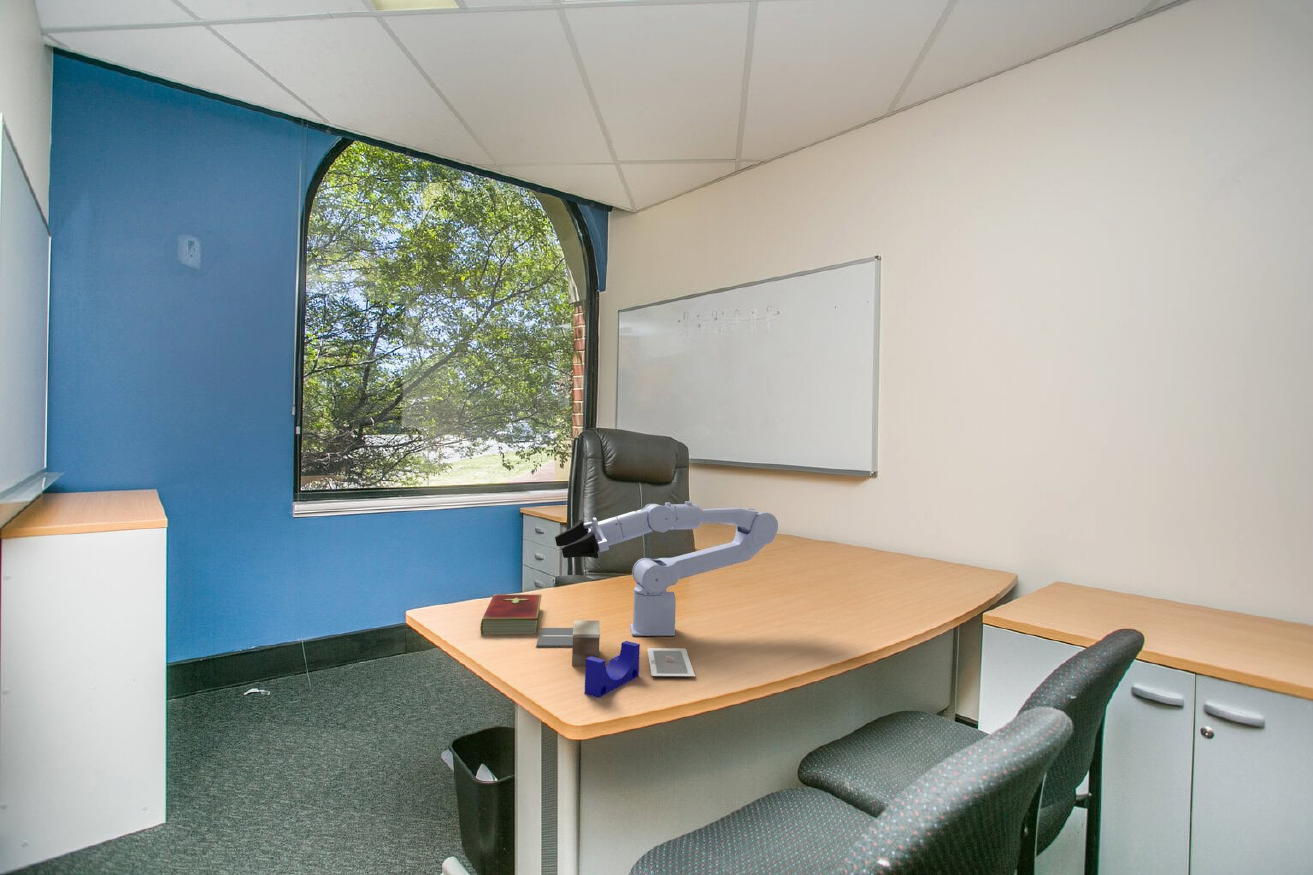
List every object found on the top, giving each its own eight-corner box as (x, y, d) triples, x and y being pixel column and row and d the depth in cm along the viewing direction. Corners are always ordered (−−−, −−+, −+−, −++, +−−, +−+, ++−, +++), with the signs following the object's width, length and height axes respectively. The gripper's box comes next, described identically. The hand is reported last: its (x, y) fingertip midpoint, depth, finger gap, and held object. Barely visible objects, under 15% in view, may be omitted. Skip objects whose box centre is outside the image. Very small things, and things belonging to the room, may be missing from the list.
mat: (595, 629, 140) (595, 627, 140) (595, 647, 128) (595, 644, 128) (540, 629, 139) (540, 627, 139) (536, 647, 127) (536, 644, 127)
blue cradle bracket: (618, 671, 116) (619, 639, 116) (638, 676, 114) (639, 643, 114) (577, 692, 106) (578, 656, 106) (598, 698, 103) (600, 662, 103)
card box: (598, 650, 127) (599, 620, 127) (598, 666, 118) (599, 634, 118) (572, 650, 126) (574, 620, 127) (571, 666, 117) (572, 634, 117)
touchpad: (685, 653, 128) (685, 643, 128) (695, 682, 113) (695, 669, 113) (647, 653, 127) (647, 642, 127) (651, 681, 112) (652, 669, 112)
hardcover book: (480, 636, 134) (480, 617, 134) (491, 610, 155) (492, 593, 155) (536, 636, 136) (537, 616, 136) (541, 610, 157) (541, 593, 157)
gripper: (606, 503, 144) (549, 520, 140) (624, 521, 131) (561, 540, 127) (612, 532, 146) (556, 549, 142) (630, 552, 132) (568, 572, 129)
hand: (559, 547), depth 135 cm, fingers open, 7 cm apart
